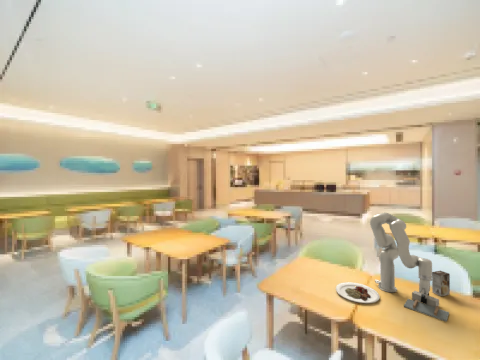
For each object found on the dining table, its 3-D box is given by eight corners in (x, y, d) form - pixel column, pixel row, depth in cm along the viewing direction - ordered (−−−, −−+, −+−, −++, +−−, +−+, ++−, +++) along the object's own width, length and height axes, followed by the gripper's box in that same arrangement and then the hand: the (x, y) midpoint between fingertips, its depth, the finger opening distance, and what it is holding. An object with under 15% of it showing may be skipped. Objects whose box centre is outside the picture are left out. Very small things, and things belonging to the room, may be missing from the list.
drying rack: (403, 306, 156) (403, 302, 156) (407, 300, 164) (407, 296, 164) (446, 321, 140) (446, 317, 140) (448, 313, 148) (449, 309, 148)
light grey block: (411, 299, 165) (411, 292, 165) (414, 297, 168) (414, 290, 168) (436, 308, 154) (436, 301, 153) (438, 306, 156) (438, 299, 156)
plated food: (334, 299, 168) (333, 294, 168) (337, 281, 194) (337, 277, 194) (381, 309, 154) (381, 304, 154) (378, 289, 181) (378, 285, 180)
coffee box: (440, 290, 176) (440, 270, 176) (450, 294, 170) (450, 273, 169) (431, 292, 174) (431, 271, 173) (441, 296, 167) (441, 275, 167)
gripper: (420, 271, 169) (420, 293, 169) (415, 278, 157) (415, 303, 158) (434, 274, 163) (433, 297, 164) (429, 282, 152) (429, 307, 152)
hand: (425, 300), depth 161 cm, fingers open, 8 cm apart
